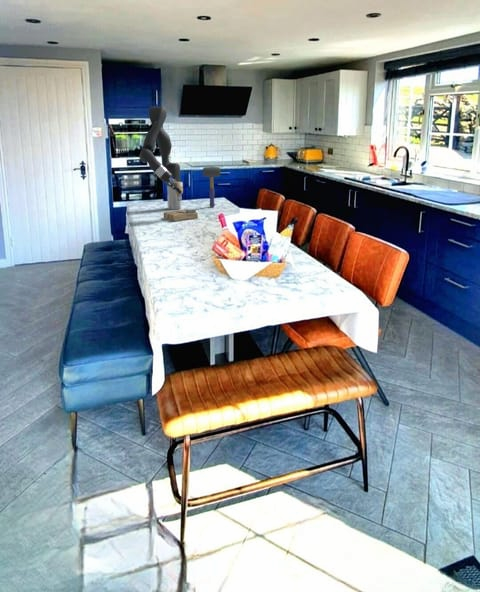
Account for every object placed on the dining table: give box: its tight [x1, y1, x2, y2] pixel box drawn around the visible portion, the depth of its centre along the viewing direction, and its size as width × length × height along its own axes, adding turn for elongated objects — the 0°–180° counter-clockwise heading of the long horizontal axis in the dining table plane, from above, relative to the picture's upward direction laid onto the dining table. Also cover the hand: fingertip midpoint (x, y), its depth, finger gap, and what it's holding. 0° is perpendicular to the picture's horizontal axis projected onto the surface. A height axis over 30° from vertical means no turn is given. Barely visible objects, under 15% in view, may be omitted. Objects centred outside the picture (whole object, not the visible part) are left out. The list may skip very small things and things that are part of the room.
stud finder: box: [186, 208, 197, 213], centre depth 346 cm, size 3×6×2 cm, turn 127°
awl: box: [175, 181, 184, 202], centre depth 342 cm, size 5×5×12 cm
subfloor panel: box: [163, 208, 199, 223], centre depth 348 cm, size 15×18×4 cm
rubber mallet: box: [202, 166, 221, 208], centre depth 381 cm, size 12×8×30 cm, turn 101°
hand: (181, 192), depth 342 cm, fingers closed on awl, 5 cm apart
